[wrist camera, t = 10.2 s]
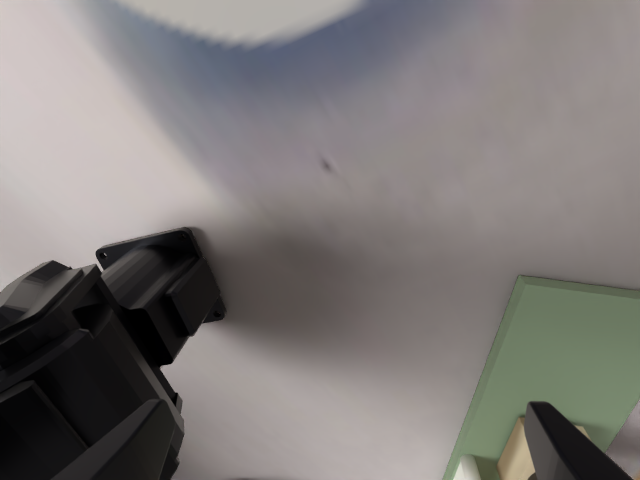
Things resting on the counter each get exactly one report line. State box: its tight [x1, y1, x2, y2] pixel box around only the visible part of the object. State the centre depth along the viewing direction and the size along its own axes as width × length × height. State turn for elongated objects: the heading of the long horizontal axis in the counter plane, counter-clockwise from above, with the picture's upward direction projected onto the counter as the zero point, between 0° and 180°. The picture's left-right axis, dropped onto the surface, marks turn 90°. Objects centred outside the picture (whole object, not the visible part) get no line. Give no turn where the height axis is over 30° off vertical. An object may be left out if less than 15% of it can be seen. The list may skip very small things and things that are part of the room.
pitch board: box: [443, 275, 640, 480], centre depth 25 cm, size 9×22×1 cm, turn 175°
